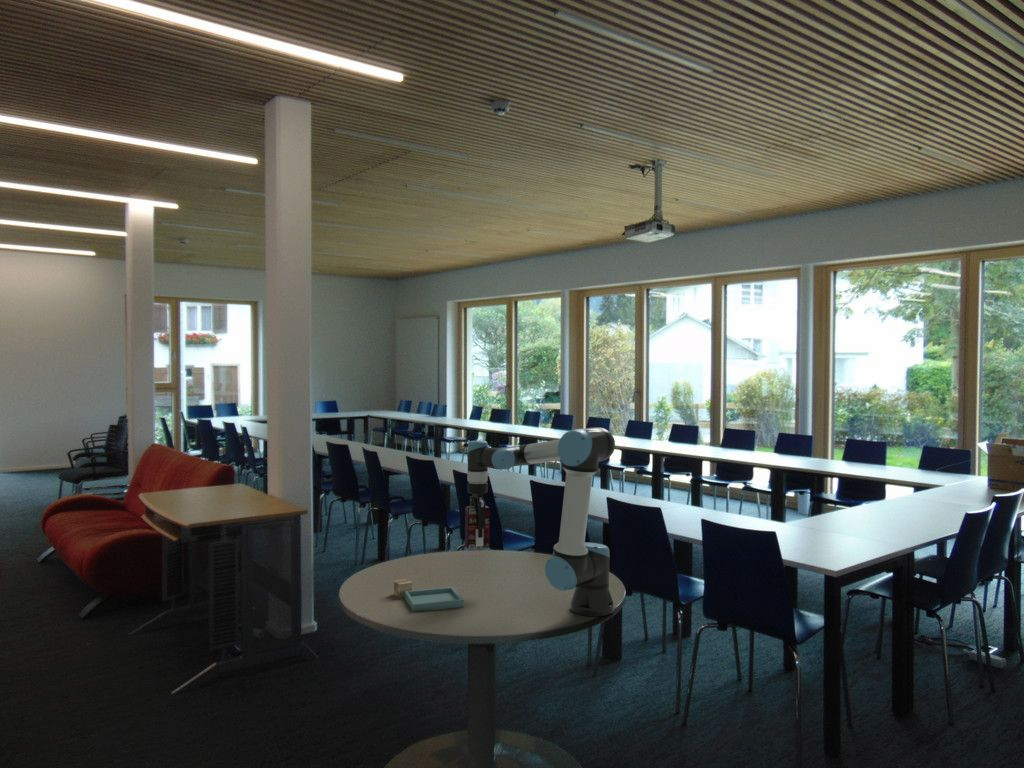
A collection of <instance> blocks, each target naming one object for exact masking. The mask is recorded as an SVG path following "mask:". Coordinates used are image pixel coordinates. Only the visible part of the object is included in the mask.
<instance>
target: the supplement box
mask: <svg viewBox="0 0 1024 768" xmlns="http://www.w3.org/2000/svg"><path fill="white" fill-rule="evenodd" d="M490 509H491V508H490V507H489V506H488V505H487V504H486V507H485V528H484V529H483V546H476V529H475V527H477V524H476V510H475V508H474V506H470V505H469V506H468V505H467V506H465V508H464V510H465V511H464V513H465V514H464V515H465V517H464V548H465V550H466V551H468V552H469V551H470V552H471V551H484V550H490V545H491V544H490V543H491V540H490V538H491V537H490V535H491V534H490V533H491V532H490V528H491V527H490V526H491V520H490V519H491V517H490V516H491V510H490Z"/></svg>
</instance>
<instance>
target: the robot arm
mask: <svg viewBox="0 0 1024 768" xmlns="http://www.w3.org/2000/svg"><path fill="white" fill-rule="evenodd" d="M615 447H616V441H615V437H614V436H613V433H611V432H610V431H609V430H608V429H606V428H604V427H599V426H597V427H596V426H595V427H587V428H584V427H583V428H575V429H571V430H568V431H566V432H564V434H563V435H561V437H560V438H558V439H554V440H553V439H552V440H546V441H540V442H533V443H528V444H527V443H526V444H521V445H514V446H505V447H490V446H489V445H488V442H487V441H486V440H470V441H469V442H468V443H467V452H466V454H467V476H466V477H467V479H466V480H467V493H468V494H471V496H469V506H474V508H475V510H476V524H477V527H475V529H476V546H483V529H484V528H485V507H486V505H487V501H485V498H484V494H487V493H488V490H489V489H488V488H489V487H488V485H489V484H488V479H489V478H488V476H489V475H490V473H489V472H488V471H489V470H488V469H489V468H490V469H494V470H496V469H497V470H500V471H502V470H504V471H505V470H510V469H511V468H513V467H520V466H529V465H535V464H543V463H549V462H551V463H552V462H557V461H558V462H559V461H560V462H561V463H562V467H561V468H562V469H563V470H564V472H565V481H564V482H565V483H564V491H563V499H562V500H563V501H562V509H561V518H560V519H561V520H560V527H559V537H558V542H557V543H556V544H554V546H553V551H552V556H550V557H549V558H548V559H547V560H546V561H545V564H544V575H545V577H546V579H547V581H548V582H549V584H550V585H551V587H552V588H554V589H555V590H558V591H562V592H565V591H570V590H573V589H574V590H573V593H572V597H571V600H570V604H569V606H570V611H571V612H573V613H575V614H578V615H581V616H585V617H586V616H587V617H603V616H608V615H610V614H613V613H614V611H615V604H614V600H613V597H612V594H611V590H610V558H611V556H610V548H609V547H608V546H607V545H605V544H602V543H597V542H586V533H587V524H588V517H589V509H590V508H589V507H590V498H591V490H592V481H593V476H594V475H596V473H597V472H598V468H599V463H600V462H603V461H606V460H607V459H610V457H611V456H612V455H613V453H614V451H615V449H616V448H615Z"/></svg>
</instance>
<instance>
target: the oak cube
mask: <svg viewBox="0 0 1024 768" xmlns="http://www.w3.org/2000/svg"><path fill="white" fill-rule="evenodd" d="M405 591H413V582H412V581H410V580H408V579H407V578H404V579H398V580H393V595H394V596H396V597H397V598H399V599H401V598H405Z"/></svg>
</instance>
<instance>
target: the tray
mask: <svg viewBox="0 0 1024 768" xmlns="http://www.w3.org/2000/svg"><path fill="white" fill-rule="evenodd" d="M404 599H405V601H406V602H407V604H408V605H409V607H410V609H411V610H412V612H413V613H415V612H424V611H426V612H427V611H436V610H445V609H456V608H464V607H465V600H464V598H463V596H461V594H460V593H459V592H458V591H457V590H456V589H455V588H454V587H453V586H449V587H448V586H447V587H437V588H436V587H435V588H428V589H426V588H425V589H424V588H423V589H416V590H415V589H414V590H413V589H412V591H405V597H404Z"/></svg>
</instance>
